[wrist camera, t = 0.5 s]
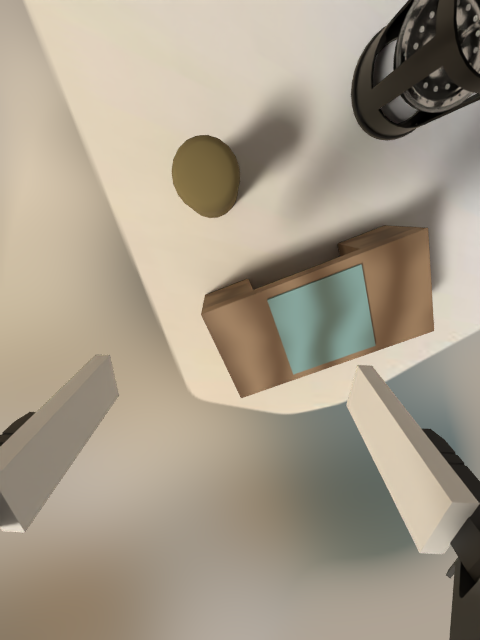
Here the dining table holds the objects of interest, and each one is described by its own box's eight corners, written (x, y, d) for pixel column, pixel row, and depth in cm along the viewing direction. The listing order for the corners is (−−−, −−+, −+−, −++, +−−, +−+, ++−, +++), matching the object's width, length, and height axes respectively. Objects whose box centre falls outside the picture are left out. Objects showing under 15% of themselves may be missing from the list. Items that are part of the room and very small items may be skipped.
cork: (231, 151, 26) (237, 110, 16) (242, 211, 29) (254, 209, 19) (176, 164, 27) (149, 132, 16) (192, 223, 29) (176, 226, 19)
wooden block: (237, 366, 37) (241, 399, 30) (205, 295, 32) (200, 315, 26) (395, 309, 35) (436, 331, 28) (384, 225, 30) (430, 228, 24)
